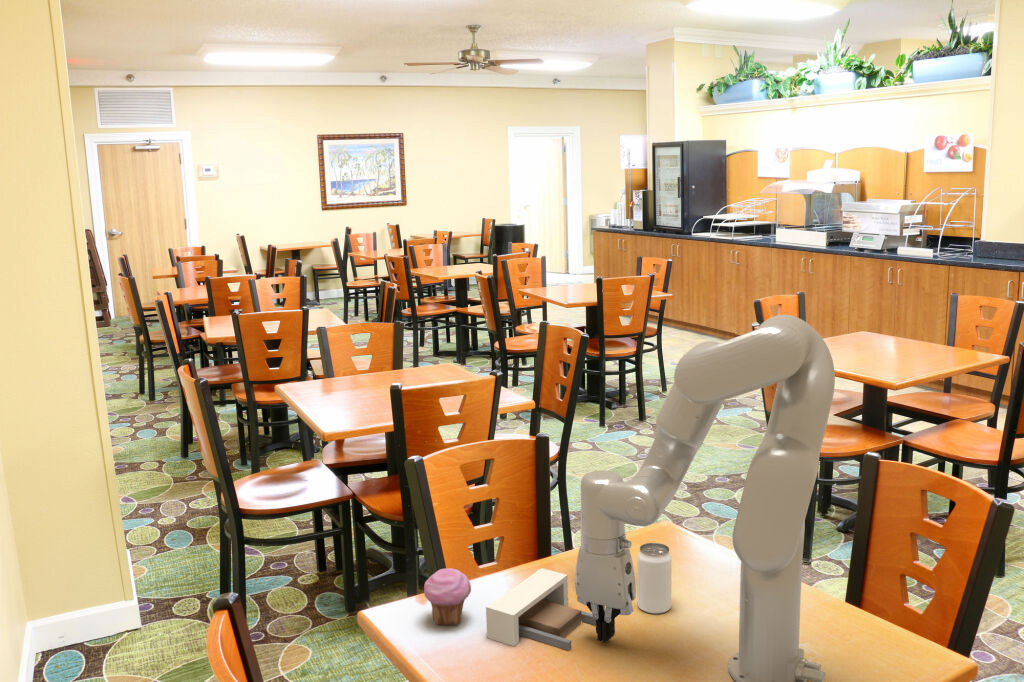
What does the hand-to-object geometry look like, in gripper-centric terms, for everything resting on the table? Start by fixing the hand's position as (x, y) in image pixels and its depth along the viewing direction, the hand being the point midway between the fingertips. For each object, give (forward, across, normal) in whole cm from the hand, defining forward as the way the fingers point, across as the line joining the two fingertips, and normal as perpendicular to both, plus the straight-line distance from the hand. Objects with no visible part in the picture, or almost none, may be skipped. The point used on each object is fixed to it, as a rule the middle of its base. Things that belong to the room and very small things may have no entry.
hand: (605, 638), depth 155 cm
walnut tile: (+1, +13, 0) cm, 13 cm away
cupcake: (+1, +29, +8) cm, 30 cm away
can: (+1, -2, -17) cm, 17 cm away
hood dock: (+1, +12, 0) cm, 12 cm away
